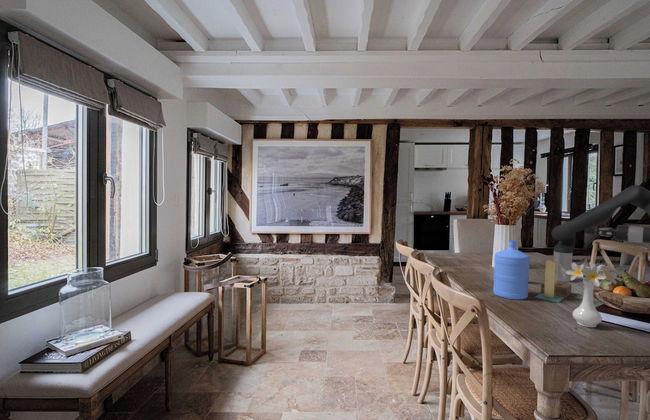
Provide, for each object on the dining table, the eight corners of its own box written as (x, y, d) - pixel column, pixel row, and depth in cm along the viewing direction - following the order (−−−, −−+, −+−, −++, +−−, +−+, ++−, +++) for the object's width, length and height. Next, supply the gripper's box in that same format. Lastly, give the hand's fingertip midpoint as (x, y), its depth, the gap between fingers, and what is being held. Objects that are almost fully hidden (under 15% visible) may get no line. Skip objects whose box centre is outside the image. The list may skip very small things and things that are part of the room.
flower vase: (554, 315, 147) (557, 257, 145) (608, 323, 139) (612, 261, 138) (560, 326, 135) (563, 263, 133) (620, 335, 127) (624, 268, 126)
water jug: (533, 301, 166) (535, 243, 164) (497, 298, 169) (500, 242, 168) (521, 292, 181) (523, 239, 180) (489, 289, 184) (491, 238, 183)
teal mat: (541, 294, 178) (541, 292, 178) (564, 298, 171) (564, 297, 171) (535, 297, 171) (535, 296, 171) (558, 302, 164) (559, 301, 164)
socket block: (546, 289, 187) (547, 280, 187) (570, 293, 179) (571, 284, 179) (540, 293, 180) (541, 283, 179) (565, 298, 172) (566, 288, 171)
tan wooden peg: (546, 295, 174) (548, 260, 173) (555, 297, 171) (557, 261, 170) (544, 296, 171) (545, 261, 170) (553, 298, 168) (555, 262, 167)
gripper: (632, 224, 164) (589, 222, 176) (628, 226, 154) (584, 223, 166) (631, 240, 165) (588, 236, 176) (627, 243, 155) (583, 239, 166)
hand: (586, 230), depth 171 cm, fingers open, 8 cm apart
